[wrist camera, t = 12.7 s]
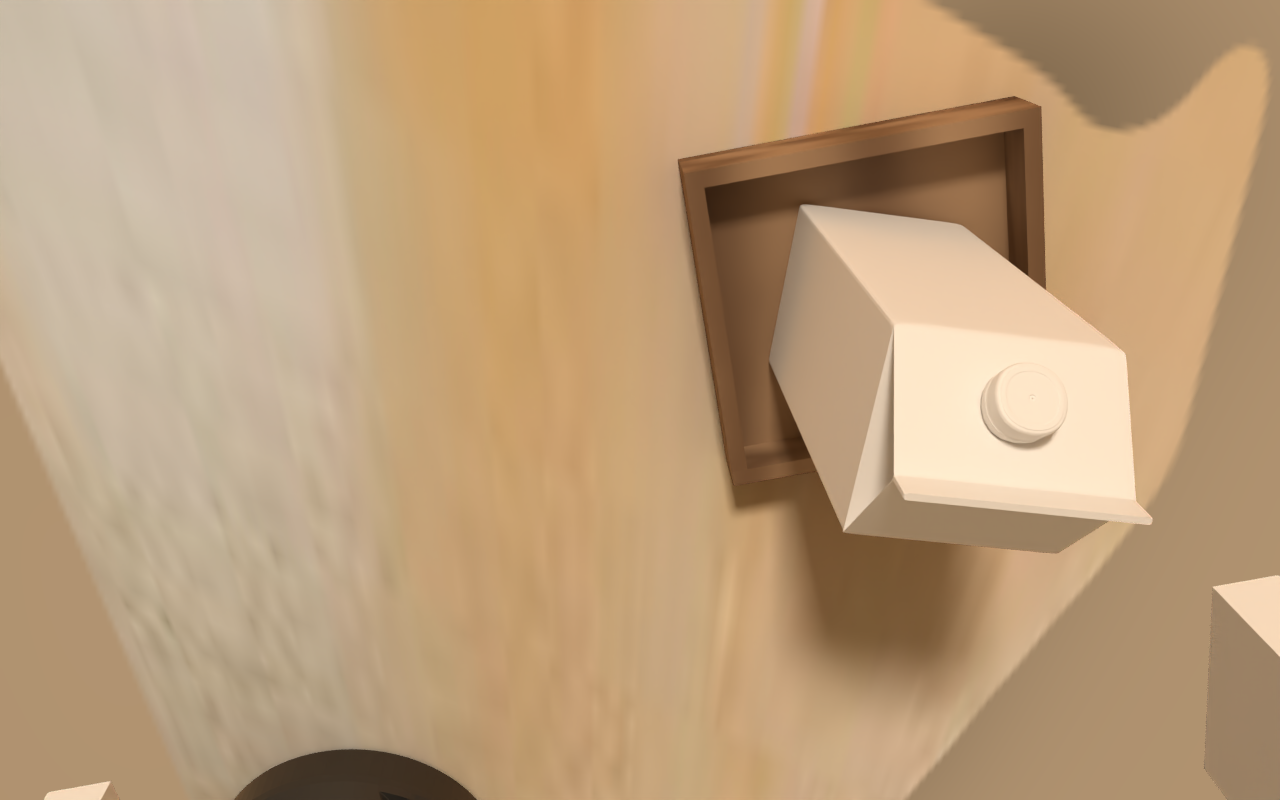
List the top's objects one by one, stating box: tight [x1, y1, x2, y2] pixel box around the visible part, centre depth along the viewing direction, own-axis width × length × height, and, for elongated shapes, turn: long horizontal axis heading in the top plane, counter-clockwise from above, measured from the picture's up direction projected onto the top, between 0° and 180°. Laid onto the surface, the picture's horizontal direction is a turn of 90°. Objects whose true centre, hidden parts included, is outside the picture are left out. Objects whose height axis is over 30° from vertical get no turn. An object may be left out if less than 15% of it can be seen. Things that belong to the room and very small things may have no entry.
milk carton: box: [769, 204, 1153, 553], centre depth 38 cm, size 7×7×19 cm
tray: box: [678, 96, 1046, 486], centre depth 46 cm, size 14×14×3 cm
